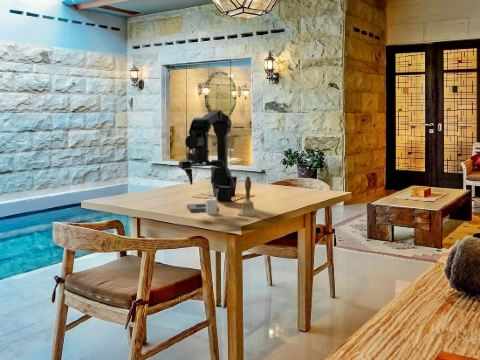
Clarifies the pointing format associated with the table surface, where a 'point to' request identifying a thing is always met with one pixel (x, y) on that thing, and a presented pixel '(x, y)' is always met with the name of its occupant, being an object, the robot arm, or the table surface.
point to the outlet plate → (198, 207)
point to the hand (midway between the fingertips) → (201, 184)
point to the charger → (211, 206)
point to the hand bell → (247, 201)
